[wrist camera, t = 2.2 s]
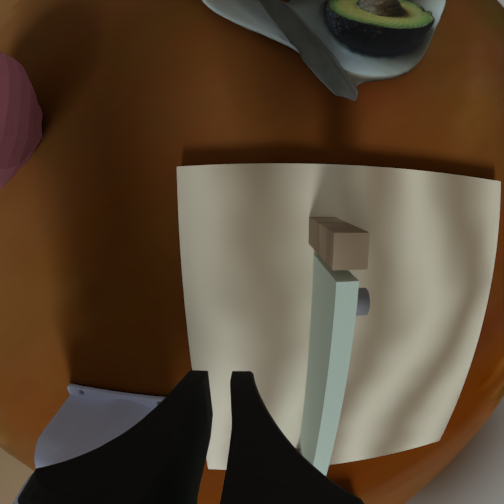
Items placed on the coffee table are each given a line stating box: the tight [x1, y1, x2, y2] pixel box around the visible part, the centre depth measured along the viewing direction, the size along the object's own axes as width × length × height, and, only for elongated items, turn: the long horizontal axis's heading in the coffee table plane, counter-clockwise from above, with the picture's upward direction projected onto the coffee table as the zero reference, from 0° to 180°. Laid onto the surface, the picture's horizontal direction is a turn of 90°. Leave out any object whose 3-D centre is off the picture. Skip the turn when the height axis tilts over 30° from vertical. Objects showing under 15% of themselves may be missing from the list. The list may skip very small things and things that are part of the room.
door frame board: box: [177, 163, 501, 470], centre depth 17 cm, size 22×24×6 cm
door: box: [299, 254, 370, 476], centre depth 16 cm, size 2×16×5 cm, turn 1°
